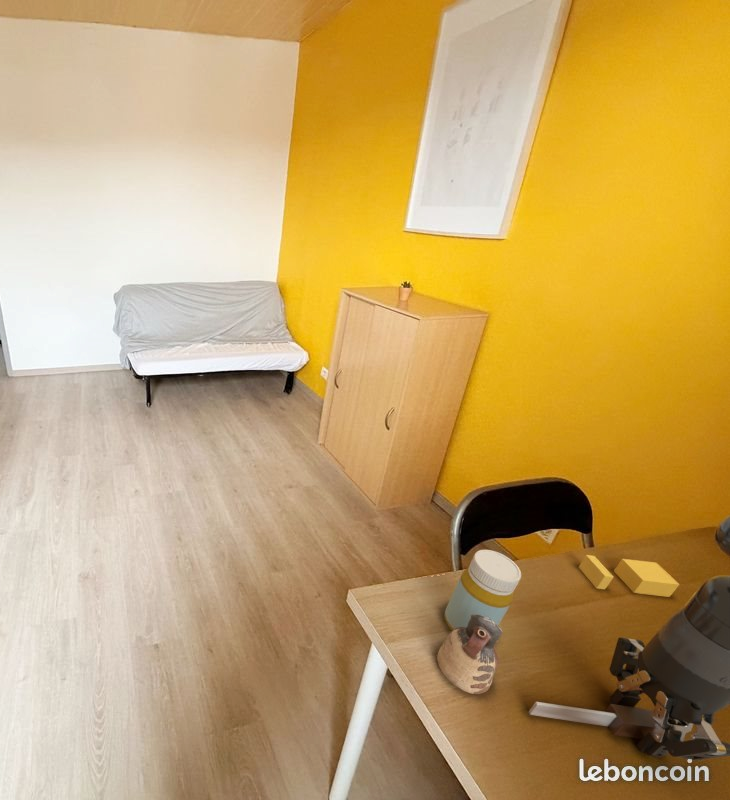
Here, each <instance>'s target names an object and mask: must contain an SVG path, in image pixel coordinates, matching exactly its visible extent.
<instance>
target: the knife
mask: <svg viewBox="0 0 730 800" xmlns="http://www.w3.org/2000/svg"><path fill="white" fill-rule="evenodd" d="M653 712H654V709H648V708H642V707H635V706H634V707H629V706H622V705H615V704H610V705H609V704H608V706H607V708H606V709H605V710H604V711H601V710H595V709H590V708H589V709H588V708H581V707H574V706H569V705H568V706H566V705H561V704H554V703H547V702H541V701H535V702H534V704H533V705H532V706H531V708H529V711H528V714H529V715H530V716H536V717H542V718H543V717H544V718H550V719H556V720H563V721H568V722H569V721H570V722H575V723H576V722H577V723H582V724H583V723H584V724H587V725H588V724H590V725H596V726H602V727H608V730H610V732H611V734H612V735H613V736H617V737H623V738H624V737H625V738H632V739H637V740H642V739H643V738H644V737H645V736H646V735H647V734H648V733H649V732H652V730H653V727H654V724H655V721H654V720H653V718H652V716H653ZM668 732H670V730H669V731H668Z"/></svg>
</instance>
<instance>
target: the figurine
mask: <svg viewBox="0 0 730 800" xmlns="http://www.w3.org/2000/svg"><path fill="white" fill-rule="evenodd" d="M503 634H504V633H503V630H502V628H501V627H499V625H498V626H497V625H496V624H495V623H494V622H493V621H492V620H491V619H489V618H487V617H484V616H481V615H475V614H472V615H471V619H470V620H469V622H468V626H467V628H466V627H458V628H455V629H454V630H453V631H452V630H451V632H450V633H449V634H448V635H447V636H446V638H445V640H444V642H443V643H442V644H441V645H440V647H439V649H438V652H437V655H436V661H437V664H438V668H439V669H440V671H441V672H442V674H443V675H444V677H445V678H446V679H447V681H449V682H450V683H451V684H452V685H454V686H455V687H457V688H458V689H460V690H461V691H463V692H465V693H469V694H473V695H481V694H484V693H486V692H487V691H488V690H489V689H490V687H491V686H492V683H493V678H494V675H495V673H496V671H497V668H498V665H499V659H498V653H497V652H496V649H495V645H496V644H497V643H499V640H500V638H501V637H502V635H503Z"/></svg>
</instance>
